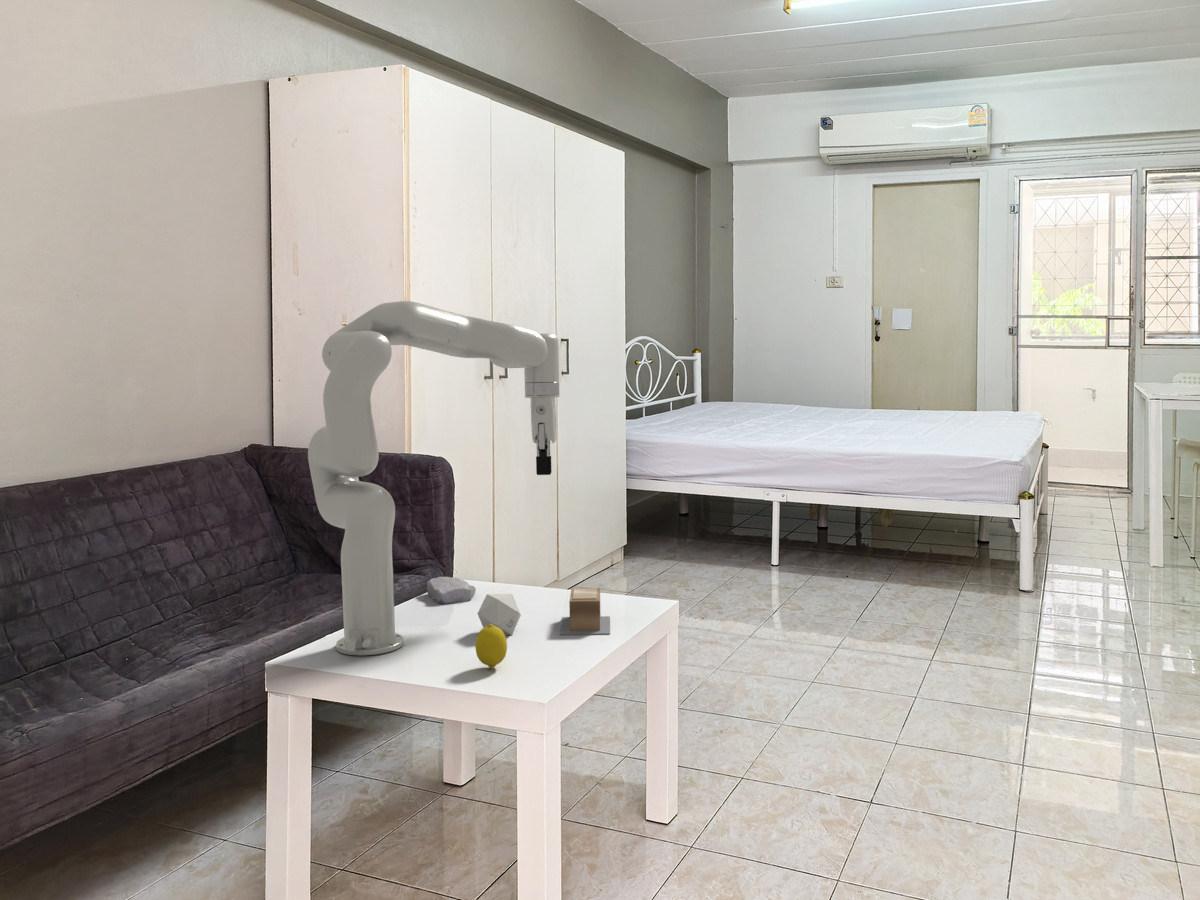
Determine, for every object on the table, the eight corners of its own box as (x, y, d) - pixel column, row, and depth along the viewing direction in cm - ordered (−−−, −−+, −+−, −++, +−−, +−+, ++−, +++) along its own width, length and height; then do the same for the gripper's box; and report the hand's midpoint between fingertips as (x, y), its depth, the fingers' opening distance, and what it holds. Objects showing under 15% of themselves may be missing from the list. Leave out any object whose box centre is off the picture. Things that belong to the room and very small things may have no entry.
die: (503, 645, 188) (529, 602, 190) (465, 622, 189) (491, 579, 191) (506, 648, 196) (531, 606, 198) (470, 626, 197) (495, 585, 199)
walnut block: (600, 615, 205) (600, 630, 194) (572, 616, 205) (569, 630, 194) (600, 586, 204) (599, 600, 193) (571, 587, 204) (569, 600, 193)
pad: (610, 634, 192) (610, 633, 192) (559, 635, 192) (559, 634, 192) (610, 617, 204) (610, 616, 204) (562, 617, 204) (562, 616, 204)
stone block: (463, 597, 232) (422, 593, 227) (466, 577, 231) (426, 573, 227) (479, 610, 221) (437, 607, 217) (483, 589, 221) (441, 586, 216)
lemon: (508, 663, 175) (507, 619, 174) (506, 673, 170) (505, 628, 169) (477, 663, 175) (476, 620, 174) (474, 673, 169) (473, 629, 169)
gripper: (557, 391, 204) (559, 478, 206) (561, 389, 219) (562, 470, 220) (521, 392, 204) (524, 479, 206) (527, 389, 219) (529, 470, 221)
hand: (544, 474), depth 213 cm, fingers closed
